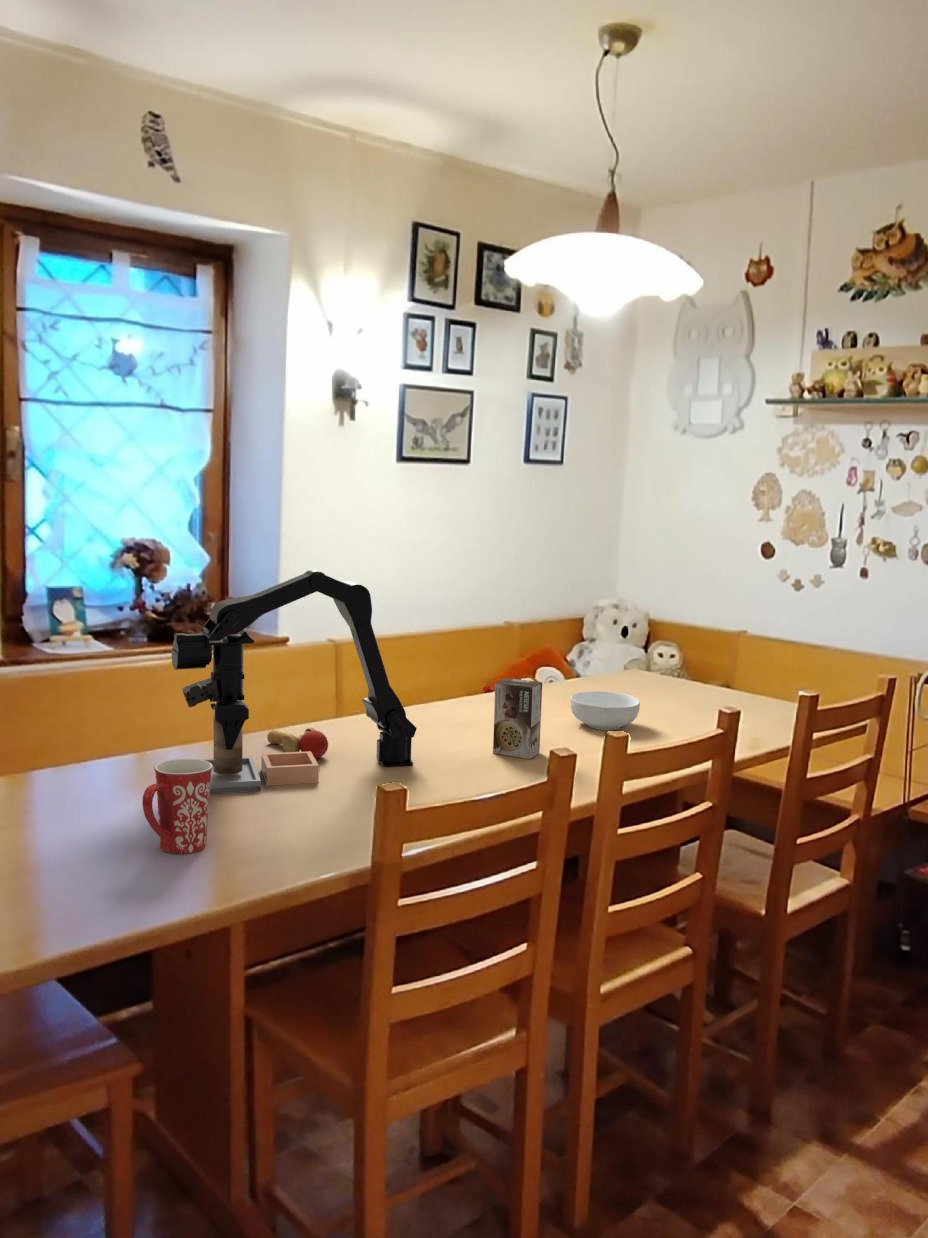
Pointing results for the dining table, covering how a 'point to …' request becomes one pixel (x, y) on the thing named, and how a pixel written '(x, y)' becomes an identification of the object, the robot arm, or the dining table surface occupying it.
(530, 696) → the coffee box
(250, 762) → the grey tray
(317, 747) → the kendama
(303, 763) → the pink rectangular frame
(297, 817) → the dining table surface
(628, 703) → the cereal bowl
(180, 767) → the mug
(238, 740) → the walnut peg
